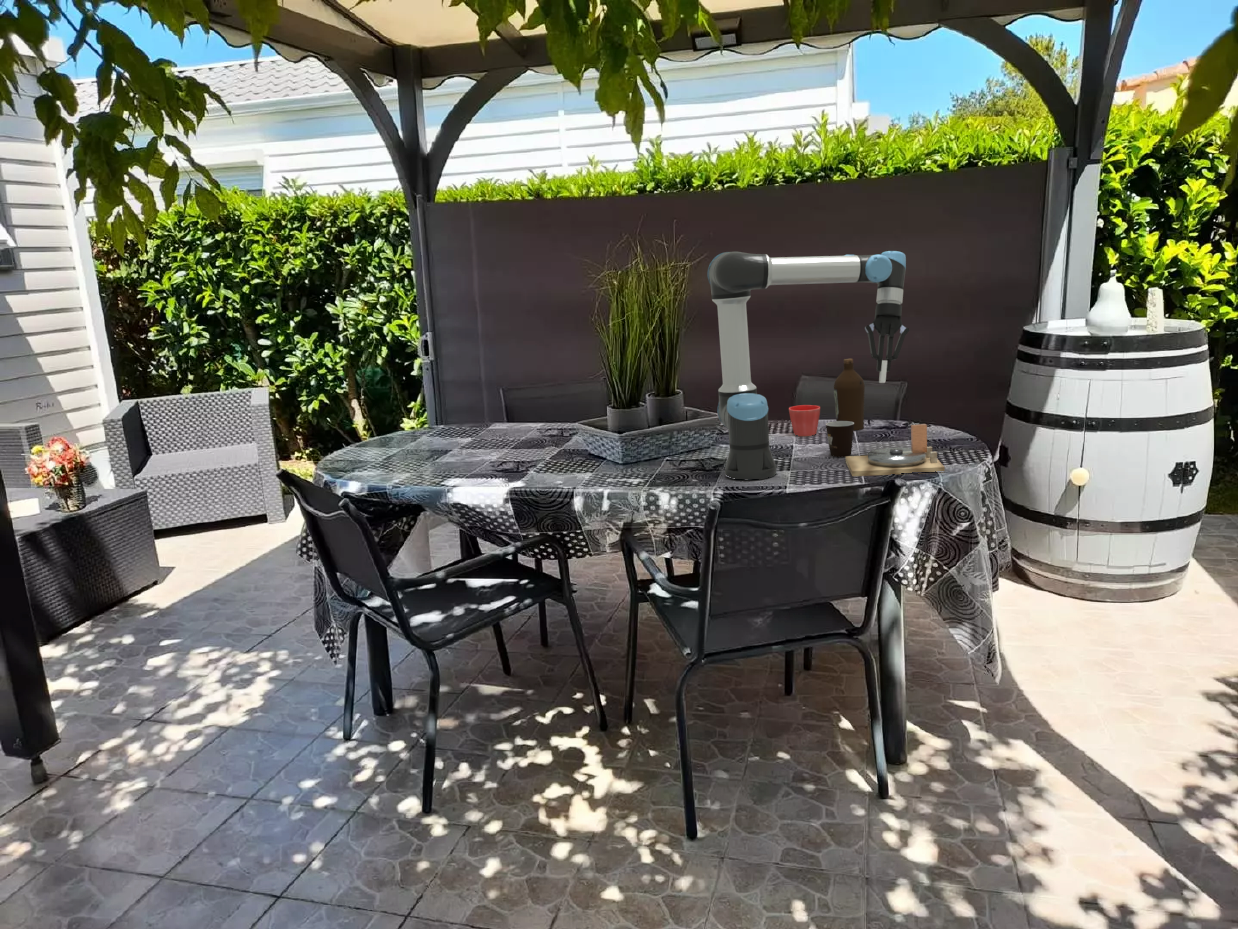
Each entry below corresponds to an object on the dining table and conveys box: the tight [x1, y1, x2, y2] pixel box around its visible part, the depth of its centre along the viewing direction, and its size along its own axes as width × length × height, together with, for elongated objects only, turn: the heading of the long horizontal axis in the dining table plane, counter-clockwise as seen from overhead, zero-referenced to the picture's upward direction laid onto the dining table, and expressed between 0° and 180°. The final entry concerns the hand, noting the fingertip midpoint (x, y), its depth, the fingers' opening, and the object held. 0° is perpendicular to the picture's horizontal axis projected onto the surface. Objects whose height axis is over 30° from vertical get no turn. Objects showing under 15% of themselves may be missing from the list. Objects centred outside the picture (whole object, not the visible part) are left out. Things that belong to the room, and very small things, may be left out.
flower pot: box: [788, 404, 821, 437], centre depth 309 cm, size 11×11×10 cm
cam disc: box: [867, 423, 928, 467], centre depth 253 cm, size 16×16×10 cm
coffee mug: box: [825, 420, 855, 458], centre depth 275 cm, size 12×9×10 cm
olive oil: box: [833, 358, 866, 432], centre depth 310 cm, size 11×11×25 cm
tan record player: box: [844, 446, 946, 477], centre depth 254 cm, size 25×19×4 cm
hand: (882, 382), depth 262 cm, fingers closed
